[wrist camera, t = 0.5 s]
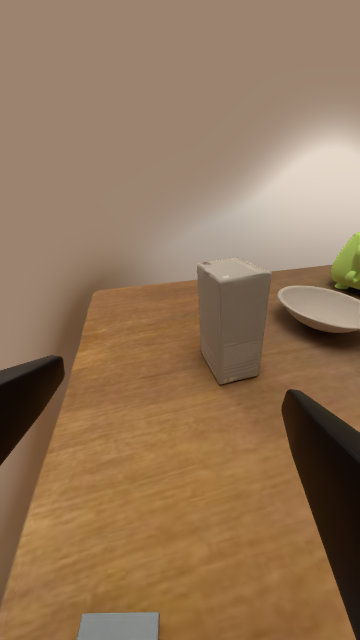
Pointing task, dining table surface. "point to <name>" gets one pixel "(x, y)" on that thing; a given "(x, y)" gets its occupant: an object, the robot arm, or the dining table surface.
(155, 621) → the mat
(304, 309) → the dish
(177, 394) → the dining table surface
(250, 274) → the cosmetic box
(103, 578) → the dining table surface
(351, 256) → the teapot
